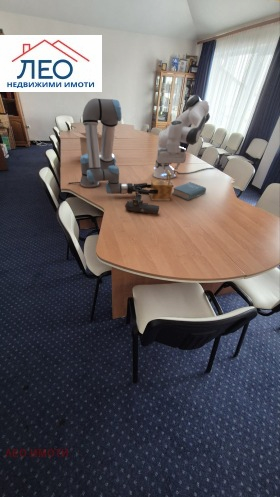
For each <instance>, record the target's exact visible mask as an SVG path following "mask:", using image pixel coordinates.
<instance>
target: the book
mask: <svg viewBox="0 0 280 497" xmlns="http://www.w3.org/2000/svg"><path fill="white" fill-rule="evenodd" d="M172 190H173V191H172V195H175V196H177V197H179V198H182V199H183V200H186V201H189V200H192V199H194V198H196V197H199V196H202V195H203V194H206V192H207V187H206V186H202V185H199V184H197V183H194V182H192V181H189V182H185V183H183V184H181V185H178V186H174V187H172Z"/></svg>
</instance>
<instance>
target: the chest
mask: <svg viewBox="0 0 280 497" xmlns="http://www.w3.org/2000/svg"><path fill="white" fill-rule="evenodd" d="M150 184H151V188H150V190H158V194H149V196H150V199H151V201H169V202H170V201H171V199H172V198H171V197H172V192H173V191H172V190H173V187H155V186H153V184H152V182H150Z"/></svg>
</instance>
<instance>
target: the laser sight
mask: <svg viewBox="0 0 280 497" xmlns="http://www.w3.org/2000/svg"><path fill="white" fill-rule="evenodd" d="M124 207H125V210H127V211H130V212H134V213H140V214H141V213H142V214H153V215H159V211H160V205H156V204H149V203H148V202H144V199H142V194H135V197H134V198H133V199H132V200H127V201H126V202H125V204H124Z"/></svg>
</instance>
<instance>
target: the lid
mask: <svg viewBox="0 0 280 497" xmlns="http://www.w3.org/2000/svg"><path fill="white" fill-rule="evenodd" d="M168 176H169V179H168ZM171 176H172V175H171V174H170V172H169V171H167V179H162V180H161V179H151V182H152V184H153V186H155V187H172V188H174V187H175V185H174V183H173V182H172V181H171V178H170V177H171ZM151 182H150V183H151Z"/></svg>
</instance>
